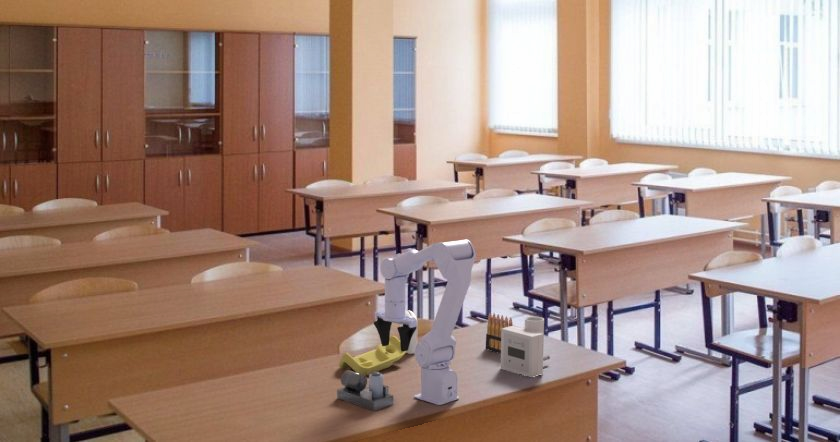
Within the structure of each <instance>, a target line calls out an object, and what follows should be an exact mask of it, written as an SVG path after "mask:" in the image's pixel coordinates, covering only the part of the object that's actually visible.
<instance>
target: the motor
mask: <svg viewBox="0 0 840 442" xmlns="http://www.w3.org/2000/svg"><path fill="white" fill-rule="evenodd" d="M340 382H341V383H340V384H341V385H342V386H343V387H340V388H337V389H336V390H337V394H336V397H337V400H341V401H343V402H347V403H350V404H353V405H356V406H358V407H362V408H364V409H368V410H370V411H377V410H380V409H384V408H387V407H390V406H393V405H394V395H393V394H391V393H389V386H388V385H386V384H383V396H382V397H379V398H373V397H372V391H369V386H367V385H368V378H367V375H363V374H359V373H357V372H355V371H354V370H353V371H352V370H349V369H348V370H346V371H344V372H343V373H342V375H341V377H340Z"/></svg>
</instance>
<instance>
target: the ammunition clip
mask: <svg viewBox="0 0 840 442" xmlns="http://www.w3.org/2000/svg"><path fill="white" fill-rule="evenodd" d="M513 324H514V323H513V319H512V317H510V318H509V319H508V316H507V315H506V316H505V318H504V316H503V315H501V316H500V315H499V314H497V315H496V313H495V312H494V313H493V314H492V312H488V319H487V324H486V325H487V326H486V327H487V328H486V329H487V330H486V334H485V348H486V349H489V350H492V351H491V352H493V351H495V352H494V353H496V352H498V353H497V354H499V353H501V329H502V328H506V327H510V326H514V325H513ZM486 349H485V350H486ZM489 350H488V351H489Z"/></svg>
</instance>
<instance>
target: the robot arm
mask: <svg viewBox="0 0 840 442" xmlns="http://www.w3.org/2000/svg"><path fill="white" fill-rule="evenodd" d="M476 257H477V254H476V251H475V248H474V245H473V243H472V242H471V241H470V240H469V239H466V238H464V239H460V240H452V241H445V242H443V241H441V242H440V241H439V242H437V243H432V244H430V245H429V246H427V247H424V248H422V249H420V250H417V249H413V248H410V247H409V248H407V249H405V250H404V252H403V253H397V254H395V256H394V257H390V258H389V257H385V258H384V259H382V261H381V263H380V265H379V266H380V267H379V268H380V272H381V275H382V277H383V278H384V311H381V310H379V311H374V314H373V315H374V318H373V319H374V320H376V321H373V325H374V327H375V328H376V331H377V333H378V337H379V339H380V344H382V346H387V345H389V339H390V337H391V336H390V335H391V329H392V328H391V327H392V324H393V323H394V324H399V325H400V324H401V325H403V326H401V327H400V326H397V332H398V334H399V340H400V345H401V351H402V352H404V351H408V348H409V344H410V341H411V338H412V336H413V334H414V332H415V330H416V328H417V326H416V320H415V319H412V318H410V317H408V316H406V315H405V310H406V284H407V283H408V277H409V275H410V274H411V273H413V272H416V271H419V270H421V269H422V268H423V266H424V264H425V263H427V262H429V261H432V262H434V263H435V265H436V267H437V269H438V271H439V272H440V274H441V276H442V278H443V279H445V280H446V281H447V283H446V286H445V289H444V292H443V295H442V298H441V301H440V302H439V306H438V309H437V311H436V315H435V317H434V320H433V323H432V325H431V328H430V330H429V331H428V332H427V333H426V334H424V335H423V336H422V337H421V340H420V341H419V343H417V346H416V348H415V353H414V359H415V361H416V362H417V364H418V366H419V367H421V369H420V383H421V384H420V393H418V394H414V396H413V398H414V399H417V400H421V401H424V402H428V403H431V404H434V405H436V406H443V405H445V404H449V403H451V402H454V401H456V400H459V399H460V396H458V375H457V372H456V371H455V370H453V369H452V368H450V365H451V362H452V361H453V360H454V358H455V356H456V345H457V340H456V338H455V337H454V336H453V333H454V329H455V326H456V324H457V321H458V318H459V316H460V313H461V309H462V307H463V305H464V301H465V299H466V295H467V293H468V290H469V287H470V286H471V281H472V270H473V267H474V264H475V261H476Z"/></svg>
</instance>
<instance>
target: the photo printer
mask: <svg viewBox="0 0 840 442" xmlns="http://www.w3.org/2000/svg"><path fill="white" fill-rule="evenodd" d="M405 315H406V316H408V317H410V318H412V319H415V320H416V326H417V328H416V330H415V332H414V334H413V336H412V338H411V341H410V344H409V348H408V351H406V352H405V354H409V355H411V354H412V355H413V354H414V355H415V348H416V346H417V345H418V336H419V335H418V326H419V325H418V323H419V322H418V319H417V316H416V314H415V313H414V312H413V311H412V310H410V309H409V310H407V309H405ZM401 326H403V325H401V324H399V327H401Z"/></svg>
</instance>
